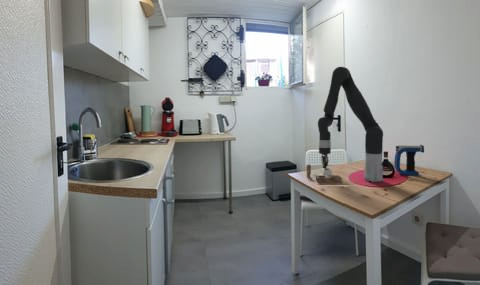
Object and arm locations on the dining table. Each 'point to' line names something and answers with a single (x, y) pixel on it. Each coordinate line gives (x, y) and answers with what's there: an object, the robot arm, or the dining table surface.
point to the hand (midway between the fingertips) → (324, 171)
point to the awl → (308, 170)
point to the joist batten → (328, 179)
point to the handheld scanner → (410, 158)
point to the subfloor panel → (315, 175)
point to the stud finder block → (326, 171)
